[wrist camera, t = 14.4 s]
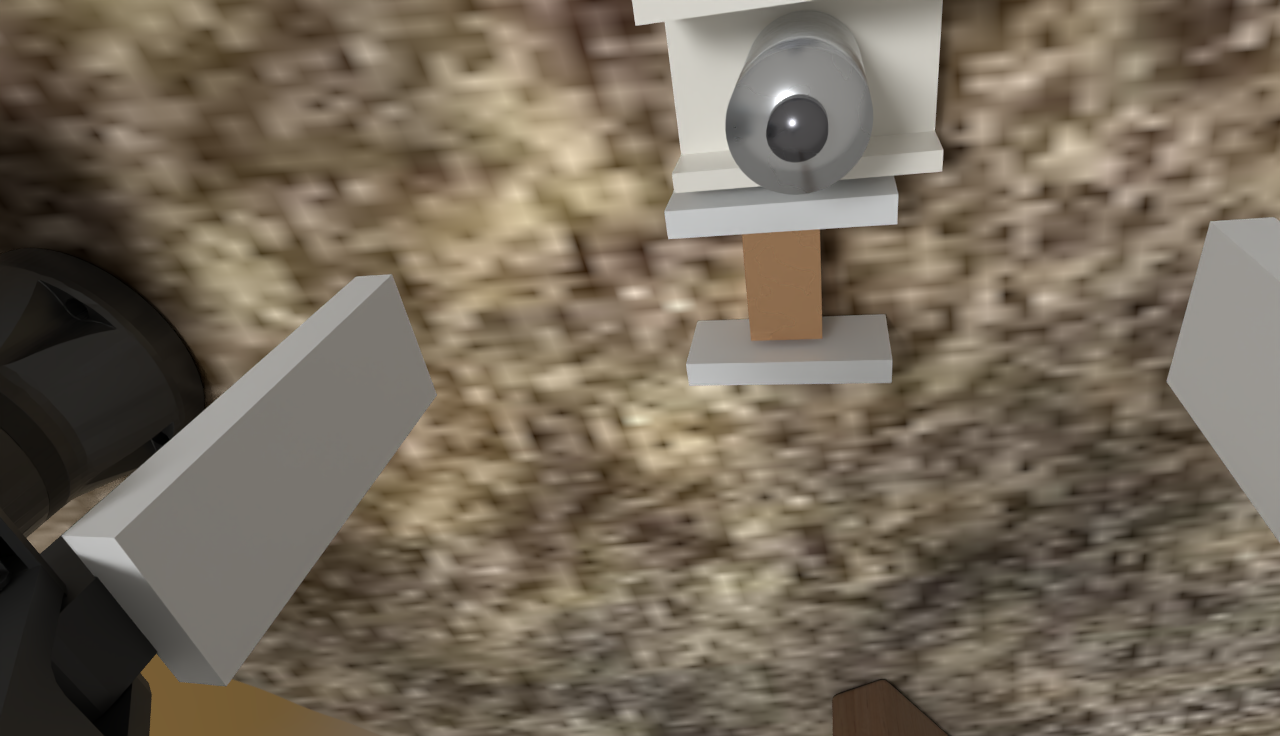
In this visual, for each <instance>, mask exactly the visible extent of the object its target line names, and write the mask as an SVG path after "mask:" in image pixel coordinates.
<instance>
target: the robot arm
mask: <svg viewBox="0 0 1280 736" xmlns="http://www.w3.org/2000/svg"><path fill="white" fill-rule="evenodd" d="M1167 383H1168V385H1169V386H1170V387H1171V389H1172V390H1173V392H1174V393H1175V394H1176V396H1177V397H1178V399H1179V400H1180V402H1181V403H1182V404H1183V406H1184V407H1185V409H1186V410H1187V412H1188V413H1189V414H1190V416H1191V417H1192V419H1193V420H1194V422H1195V423H1196V424H1197V426H1198V427H1199V429H1200V430H1201V432H1202V433H1203V434H1204V436H1205V437H1206V439H1207V440H1208V441H1209V443H1210V444H1211V446H1212V447H1213V449H1214V450H1215V451H1216V453H1217V454H1218V456H1219V457H1220V459H1221V460H1222V461H1223V463H1224V464H1225V466H1226V467H1227V469H1228V470H1229V471H1230V473H1231V474H1232V476H1233V477H1234V479H1235V480H1236V481H1237V483H1238V484H1239V486H1240V487H1241V489H1242V490H1243V491H1244V493H1245V494H1246V496H1247V497H1248V498H1249V500H1250V501H1251V503H1252V504H1253V506H1254V507H1255V508H1256V510H1257V511H1258V513H1259V514H1260V516H1261V517H1262V518H1263V520H1264V521H1265V523H1266V524H1267V526H1268V527H1269V528H1270V530H1271V531H1272V533H1273V534H1274V536H1275V537H1276V538H1277V540H1278V541H1279V543H1280V221H1279V220H1277V219H1276V218H1275V217H1271V218H1255V219H1240V220H1225V221H1210V225H1209V228H1208V232H1207V236H1206V239H1205V243H1204V247H1203V250H1202V254H1201V258H1200V261H1199V265H1198V269H1197V272H1196V276H1195V280H1194V283H1193V287H1192V291H1191V294H1190V298H1189V301H1188V305H1187V309H1186V312H1185V316H1184V320H1183V323H1182V327H1181V331H1180V334H1179V338H1178V342H1177V345H1176V349H1175V353H1174V356H1173V360H1172V363H1171V367H1170V371H1169V374H1168V378H1167ZM436 396H437V394H436V391H435V389H434V386H433V383H432V381H431V378H430V375H429V373H428V370H427V367H426V364H425V362H424V359H423V356H422V354H421V351H420V348H419V346H418V343H417V340H416V338H415V335H414V332H413V330H412V327H411V324H410V321H409V319H408V316H407V313H406V311H405V308H404V305H403V303H402V300H401V297H400V295H399V292H398V289H397V287H396V284H395V281H394V279H393V276H392V274H390V275H375V276H359V277H355V278H354V279H353V280H352V281H351V282H349V283H348V284H347V285H346V286H345V287H344V288H343V289H342V290H340V291H339V292H338V293H337V294H336V295H335V296H334V297H332V298H331V299H330V300H329V301H328V302H327V303H326V304H324V305H323V306H322V307H321V308H320V309H319V310H318V311H316V312H315V313H314V314H313V315H312V316H311V317H310V318H309V319H307V320H306V321H305V322H304V323H303V324H302V325H301V326H299V327H298V328H297V329H296V330H295V331H294V332H293V333H291V334H290V335H289V336H288V337H287V338H286V339H285V340H284V341H282V342H281V343H280V344H279V345H278V346H277V347H276V348H274V349H273V350H272V351H271V352H270V353H269V354H268V355H266V356H265V357H264V358H263V359H262V360H261V361H260V362H258V363H257V364H256V365H255V366H254V367H253V368H252V369H251V370H249V371H248V372H247V373H246V374H245V375H244V376H243V377H241V378H240V379H239V380H238V381H237V382H236V383H235V384H233V385H232V386H231V387H230V388H229V389H228V390H227V391H225V392H224V393H223V394H222V395H221V396H220V397H219V398H218V399H216V400H215V401H214V402H213V403H212V404H211V405H210V406H208V407H207V408H206V409H205V410H204V391H203V386H202V382H201V379H200V376H199V373H198V371H197V368H196V366H195V364H194V362H193V360H192V358H191V356H190V354H189V352H188V351H187V349H186V347H185V346H184V344H183V343H182V341H181V340H180V338H179V337H178V336H177V334H176V333H175V332H174V330H173V329H172V328H171V327H170V325H169V324H168V323H167V322H166V321H165V320H164V319H163V317H162V316H161V315H160V314H159V313H158V312H157V311H156V310H155V309H154V308H153V307H152V306H151V305H150V304H148V303H147V302H146V301H145V300H144V299H143V298H142V297H141V296H139V295H138V294H137V293H136V292H134V291H133V290H132V289H131V288H129V287H128V286H127V285H125V284H124V283H122V282H121V281H119V280H118V279H116V278H115V277H113V276H112V275H110V274H108V273H107V272H105V271H103V270H101V269H100V268H98V267H96V266H94V265H92V264H90V263H87V262H85V261H83V260H81V259H78V258H76V257H73V256H70V255H67V254H64V253H60V252H56V251H52V250H46V249H38V248H23V249H16V250H12V251H9V252H6V253H3V254H1V255H0V736H149V731H150V713H151V690H150V687H149V683H148V682H147V681H146V679H145V678H144V677H143V676H142V675H141V673H140V672H141V671H142V670H143V669H144V668H145V666H146V665H147V664H148V663H149V662H150V660H151V659H152V658H153V657H154V656H155V655H156V654H157V655H158V656H159V657H160V658H161V660H162V661H163V662H164V663H165V665H166V666H167V667H168V668H169V669H170V671H171V672H172V673H173V674H174V676H175V677H176V678H177V679H178V681H179V682H188V683H198V684H208V685H218V686H227V685H228V683H229V682H230V681H231V679H232V678H233V676H234V675H235V674H236V672H237V671H238V670H239V668H240V667H241V665H242V664H243V663H244V661H245V660H246V659H247V657H248V656H249V654H250V653H251V652H252V650H253V649H254V647H255V646H256V645H257V643H258V642H259V641H260V639H261V638H262V636H263V635H264V634H265V632H266V631H267V629H268V628H269V627H270V625H271V624H272V623H273V621H274V620H275V618H276V617H277V616H278V614H279V613H280V611H281V610H282V609H283V607H284V606H285V605H286V603H287V602H288V600H289V599H290V598H291V596H292V595H293V593H294V592H295V591H296V589H297V588H298V587H299V585H300V584H301V582H302V581H303V580H304V578H305V577H306V575H307V574H308V573H309V571H310V570H311V569H312V567H313V566H314V564H315V563H316V562H317V560H318V559H319V557H320V556H321V555H322V553H323V552H324V551H325V549H326V548H327V546H328V545H329V544H330V542H331V541H332V539H333V538H334V537H335V535H336V534H337V533H338V531H339V530H340V528H341V527H342V526H343V524H344V523H345V521H346V520H347V519H348V517H349V516H350V515H351V513H352V512H353V510H354V509H355V508H356V506H357V505H358V503H359V502H360V501H361V499H362V498H363V497H364V495H365V494H366V492H367V491H368V490H369V488H370V487H371V485H372V484H373V483H374V481H375V480H376V479H377V477H378V476H379V474H380V473H381V472H382V470H383V469H384V468H385V466H386V465H387V463H388V462H389V461H390V459H391V458H392V456H393V455H394V454H395V452H396V451H397V450H398V448H399V447H400V445H401V444H402V443H403V441H404V440H405V438H406V437H407V436H408V434H409V433H410V432H411V430H412V429H413V427H414V426H415V425H416V423H417V422H418V420H419V419H420V418H421V416H422V415H423V414H424V412H425V411H426V409H427V408H428V407H429V405H430V404H431V402H432V401H433V400H434V398H435V397H436ZM131 473H132V474H131ZM129 474H131V475H129ZM126 475H129V476H128V477H127V478H126V479H125V480H124V481H123V482H122V483H120V484H119V485H118V486H117V487H116V488H115V489H114V490H112V491H111V492H110V493H109V494H108V495H107V496H106V497H104V498H103V499H102V500H101V501H100V502H99V503H98V504H96V505H95V506H94V507H93V508H92V509H91V510H90V511H89V512H87V513H86V514H85V515H84V516H83V517H82V518H81V519H79V520H78V521H77V522H76V523H75V524H74V525H73V526H71V527H70V528H69V529H68V530H67V531H66V532H65V533H63V534H62V535H61V536H60V537H59V538H58V539H57V540H56V541H54V542H53V543H52V544H51V545H50V546H49V547H48V548H46V549H45V550H44V551H43V552H42V553H41V554H39V553H38V552H37V550H36V549H35V548H34V547H33V546H32V544H31V543H30V542H29V541H28V540H27V539H26V538H27V537H28V536H29V535H30V534H31V533H32V532H34V531H35V530H36V529H37V528H38V527H40V526H41V525H42V524H43V523H44V522H45V521H46V520H48V519H49V518H50V517H51V516H52V515H54V514H55V513H56V512H57V511H58V510H60V509H61V508H62V507H63V506H65V505H66V504H67V503H68V502H70V501H71V500H72V499H74V498H76V497H78V496H81V495H83V494H85V493H87V492H90V491H92V490H94V489H97V488H99V487H101V486H103V485H106V484H108V483H110V482H113V481H115V480H117V479H119V478H122V477H124V476H126Z"/></svg>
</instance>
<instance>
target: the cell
mask: <svg viewBox="0 0 1280 736" xmlns="http://www.w3.org/2000/svg"><path fill="white" fill-rule="evenodd" d="M872 127H873V106H872V100H871V95H870V91H869V87H868V83H867V78H866V74H865V70H864V66H863V61H862V57H861V53H860V49H859V46H858V43H857V41H856V39H855V37H854V35H853V34H852V32H851V31H850V30H849V28H848V27H847V26H846V25H845V24H844V23H843V22H841V21H840V20H839V19H837V18H836V17H834V16H832V15H830V14H828V13H825V12H821V11H817V10H799V11H793V12H790V13H787V14H785V15H783V16H780V17H778V18H777V19H775V20H774V21H772V22H771V23H770V24H768V25H767V26H766V27H765V28H764V29H763V30H762V31H761V32H760V33H759V35H758V36H757V38H756V39H755V41H754V42H753V44H752V46H751V48H750V50H749V53H748V55H747V58H746V60H745V63H744V65H743V68H742V71H741V73H740V76H739V78H738V81H737V83H736V86H735V88H734V91H733V93H732V96H731V98H730V101H729V104H728V108H727V112H726V120H725V131H726V139H727V143H728V147H729V150H730V152H731V155H732V157H733V159H734V160H735V162H736V164H737V165H738V167H739V168H740V169H741V171H742V172H743V173H744V174H745V175H746V176H747V177H748V178H750V179H751V180H752V181H753V182H755V183H756V184H758V185H760V186H761V187H763V188H766V189H768V190H771V191H774V192H777V193H782V194H794V195H799V194H807V193H812V192H816V191H819V190H822V189H824V188H827V187H829V186H830V185H832V184H834V183H836V182H837V181H839V180H840V179H842V178H843V177H844V176H845V175H846V174H848V173H849V172H850V171H851V170H852V169H853V167H854V166H855V165H856V164H857V163H858V161H859V160H860V158H861V157H862V155H863V153H864V151H865V150H866V147H867V145H868V142H869V140H870V136H871V132H872Z"/></svg>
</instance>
